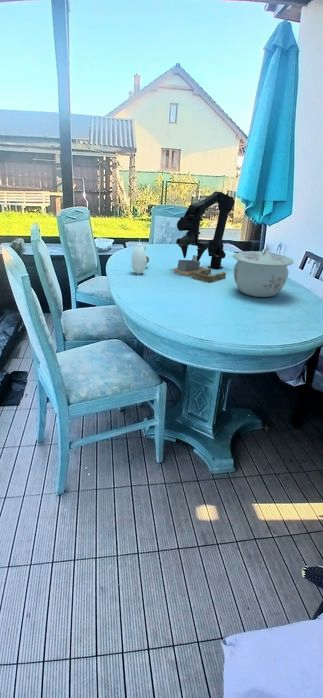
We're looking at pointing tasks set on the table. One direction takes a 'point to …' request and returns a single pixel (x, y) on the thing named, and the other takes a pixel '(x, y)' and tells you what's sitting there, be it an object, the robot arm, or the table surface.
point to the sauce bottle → (139, 259)
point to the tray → (188, 273)
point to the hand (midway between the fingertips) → (191, 259)
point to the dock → (203, 275)
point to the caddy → (189, 264)
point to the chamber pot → (261, 272)
